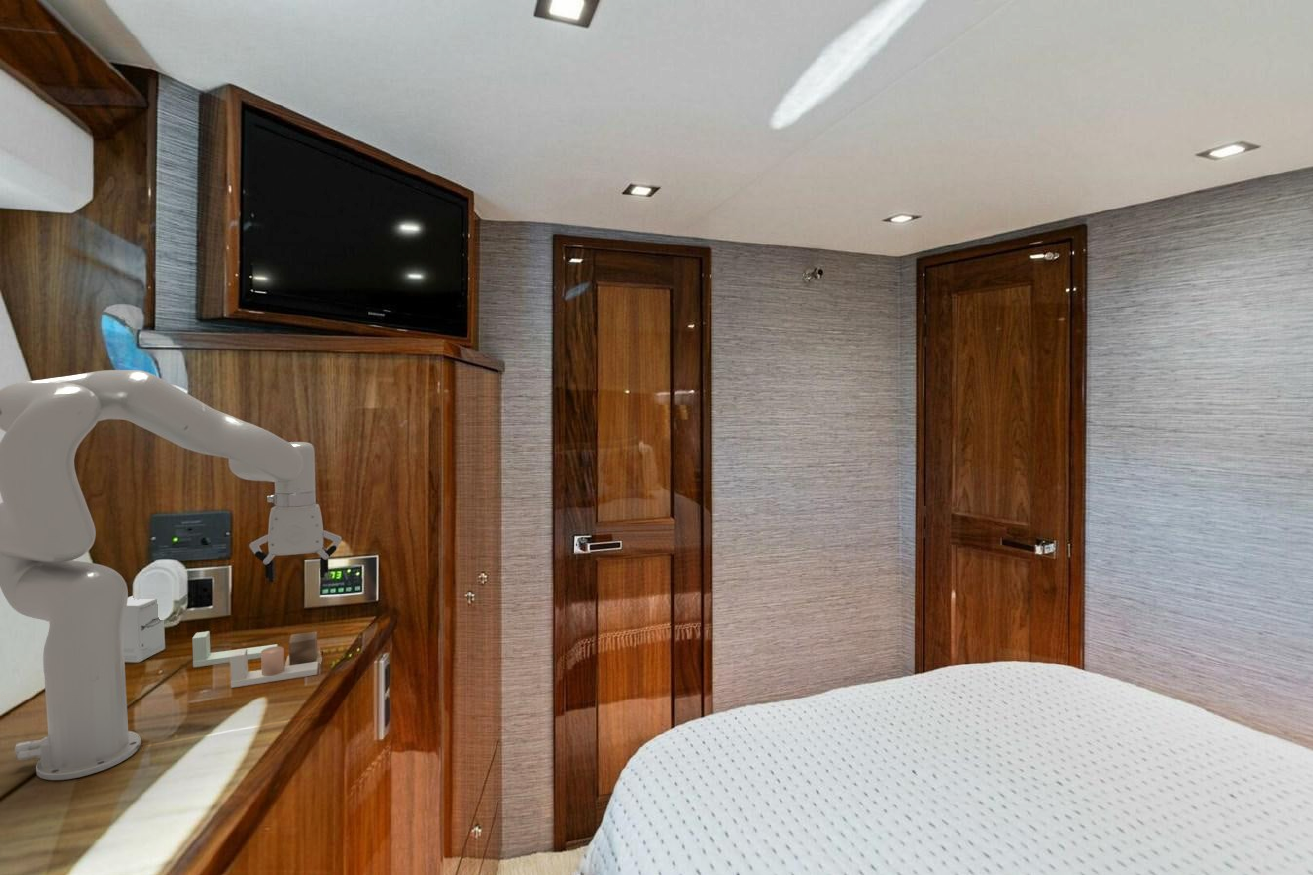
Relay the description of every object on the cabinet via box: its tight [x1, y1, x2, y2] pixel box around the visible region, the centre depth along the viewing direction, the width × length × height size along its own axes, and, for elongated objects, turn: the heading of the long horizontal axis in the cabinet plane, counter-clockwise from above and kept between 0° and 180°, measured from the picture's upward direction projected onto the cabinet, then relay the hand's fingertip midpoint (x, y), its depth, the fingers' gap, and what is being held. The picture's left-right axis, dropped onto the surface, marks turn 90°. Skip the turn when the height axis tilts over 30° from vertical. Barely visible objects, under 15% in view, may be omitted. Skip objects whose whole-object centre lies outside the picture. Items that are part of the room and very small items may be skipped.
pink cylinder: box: [260, 645, 285, 676], centre depth 131 cm, size 4×4×4 cm
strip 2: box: [229, 647, 319, 689], centre depth 131 cm, size 15×4×6 cm, turn 114°
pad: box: [284, 650, 323, 666], centre depth 139 cm, size 7×7×1 cm
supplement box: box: [123, 595, 166, 663], centre depth 142 cm, size 7×7×13 cm
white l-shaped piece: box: [191, 630, 278, 668], centre depth 140 cm, size 15×4×6 cm, turn 114°
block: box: [288, 631, 318, 666], centre depth 139 cm, size 5×5×5 cm
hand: (297, 578), depth 138 cm, fingers open, 9 cm apart
